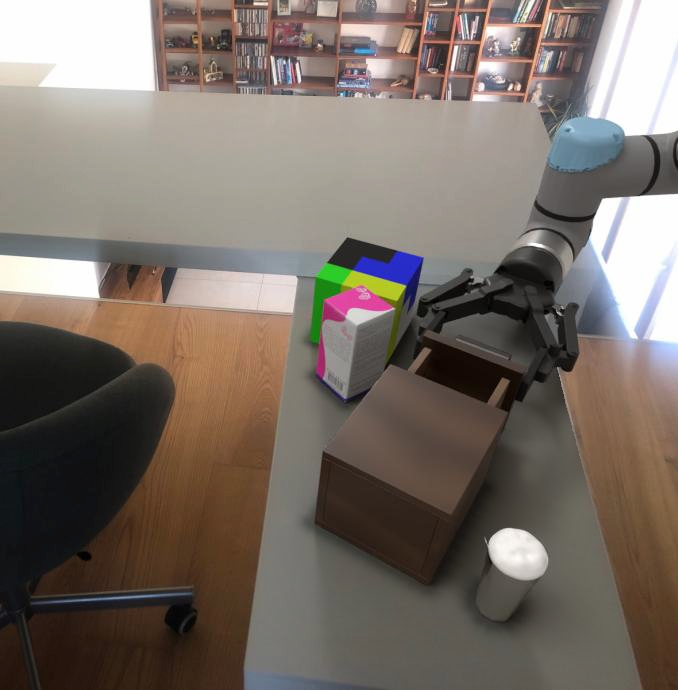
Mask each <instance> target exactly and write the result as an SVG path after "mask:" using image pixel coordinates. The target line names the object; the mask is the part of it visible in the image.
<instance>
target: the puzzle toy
mask: <svg viewBox="0 0 678 690" xmlns="http://www.w3.org/2000/svg"><path fill="white" fill-rule="evenodd" d="M424 259H425V257H424V256H421V255H416V254H413V253H409V252H405V251H401V250H397V249H393V248H389V247H386V246H383V245H379V244H376V243H371V242H368V241H363V240H360V239H356V238H352V237H348V236H347V237H346V238H345V239H344V241H343V242H342V243H341V244H340V246H339V247H338V248H337V249H336V251H335V252H334V253H333V255H331V256H330V258H329V259H328V260H327V261H326V263H325V264H324V266H323V267H322V268H321V269H320V271H318V273H317V274H316V275H315V278H314V291H313V301H312V302H313V303H312V304H313V305H312V313H311V325H310V336H309V338H310V339H309V341H310V342H312V343H314V344H318V345H319V343H320V334H321V325H322V316H323V306H324V300H325V299H327V298H330V297H333V296H335V295H338V294H341V293H343V292H346V291H348V290H351V289H353V288H355V287H358V286H360V285H363V286H364V287H366V288H367V289H368V290H370V291H371V292H372V293H374V294H375V295H377V296H378V297H379V298H381V299H382V300H384V301H385V302H386V303H388V304H389V305H391V306H392V307H393V308H395V314H394V320H393V325H392V330H391V335H390V341H389V346H388V352H387V357H386V362H385V366H387V364H388V362H389V360H390V358H391V356H392V355H393V353H394V351H395V350H396V348H397V346H398V345H399V343H400V341H401V339H402V338H403V335H404V334H405V332H406V331H407V329H408V327H409V325H410V324H411V322H412V318H413V313H414V308H415V304H416V303H415V302H416V299H417V293H418V288H419V284H420V278H421V273H422V268H423V264H424Z"/></svg>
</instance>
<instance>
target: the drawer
mask: <svg viewBox="0 0 678 690" xmlns="http://www.w3.org/2000/svg"><path fill="white" fill-rule="evenodd" d="M512 357H513V354H512V353H510V352H506V351H504V350H503V349H502V350H501V349H499V348H497V347H494V346H491V345H488V344H487V343H486V344H485V343H483V342H480V341H478V340H475V339H472V338H470V337H467V336H464V335H461V334H458V335H457V336H456V337H455V339H453V338H451V337H449V336H446V335H443V334H441V333H440V334H438V333H435V332H433V331H430V330H427V331H426V333H425V334H424V335H423V340H422V344H421V349H420V353H419V355H418V357H417V358H416V360H414V361H413V362H412V364H411V365H410V366H409V368H408V369H407V370H406V371H409V372H411V373H414V374H416V375H419V376H421V377H423V378H426V379H428V380H431V381H433V382H436V383H438V384H440V385H443V386H445V387H448V388H450V389H453V390H455V391H457V392H460V393H462V394H465V395H467V396H469V397H472V398H474V399H477V400H479V401H482V402H484V403H486V404H489V405H491V406H494V407H496V408H499V409H501V410H503V411H506V412H508V415H507V418H506V420H505V423H504V426H503V429H502V431H501V434H502V433H503V432H504V430H505V429H506V427H507V424H508V421H509V418H510V415H511V413H512V410H513V407H514V405H515V402H516V400H515V398H516V395H517V392H518V390H519V387H520V384H521V381H522V380H523V378H524V376H525V374H526V372H527V370H528V367H527V366H524V365H523V364H520V363H518V362H515V361H512Z"/></svg>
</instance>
